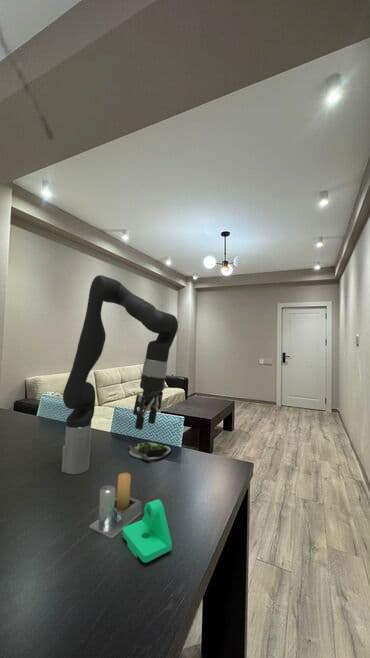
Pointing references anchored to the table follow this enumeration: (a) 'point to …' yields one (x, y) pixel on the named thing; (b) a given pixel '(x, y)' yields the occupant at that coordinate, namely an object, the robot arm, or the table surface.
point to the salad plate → (149, 451)
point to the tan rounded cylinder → (123, 491)
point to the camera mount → (149, 533)
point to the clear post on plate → (114, 513)
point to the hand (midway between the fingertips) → (145, 426)
